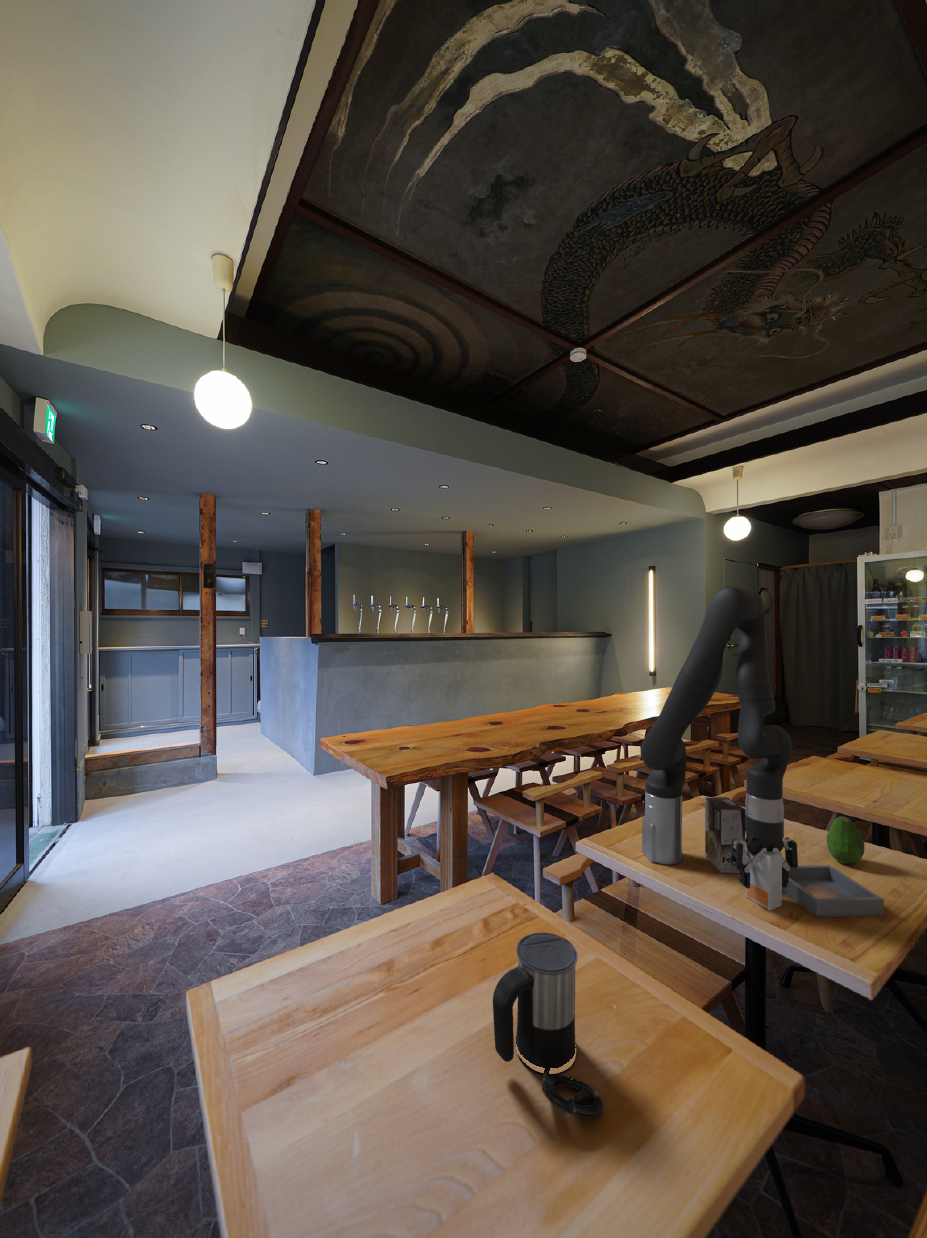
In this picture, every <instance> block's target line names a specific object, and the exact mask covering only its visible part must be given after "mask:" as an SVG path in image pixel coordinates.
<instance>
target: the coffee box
mask: <svg viewBox="0 0 927 1238" xmlns="http://www.w3.org/2000/svg"><path fill="white" fill-rule="evenodd" d="M704 804H705V805H704V831H705V833H704V836H705V837H704V839H705V841H704V844H705V845H704V846H705V847H704V852H705V854H704V856H705V858H706V859H707V860H708V861H709V863H711V864H712V865H713V866H714V867H715V868H716V869H717V871H719V872H720V873H721V874H723V873H724V874H725V873H726V874H739V870H738V869H737V868H735V867H734V866H733V865H732V864H731V846H732V840H733V839H736V840H738V841H745V839H746V831H745V807H743V806H741V805H740V804H738V803H737V802H735V801H734V800H732V798H730V797H727V796H714V797H705V798H704ZM744 850H745V851H746V848H745V849H744ZM745 851H744V852H745ZM744 852H743V854H744Z"/></svg>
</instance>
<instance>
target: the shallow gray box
mask: <svg viewBox="0 0 927 1238" xmlns="http://www.w3.org/2000/svg"><path fill="white" fill-rule="evenodd" d="M788 880H789V882H788V884H787V887H782V892H784V893H785V894H786V895H787V896H789V897H790V898H791V899H792V900H794V901H795V902H796V903H797V904H798V905H800V906H802V908H803V909H804V910H806V911H808V912H809V913H811V915H813V916H814V917H815V918H816V919H822V918H823V919H824V918H846V917H847V918H848V917H850V918H851V917H872V916H873V917H876V916H877V917H878V916H884V898H882V897H880V896H879V895H878V894H876V893H874V891H871V890H870V889H868V888H866V887H865V886H863V885H862V884H861V883H859V882H857V881H856V880H854V879H853V878H851V877H849V876H848V875H846V874H844V873H843V872H841V871H840V870H838V869H836V868H835V867H833V866H832V865H831V864H816V865H815V864H814V865H813V864H812V865H811V864H810V865H809V864H808V865H798V867H797V868H794V867H793V868H791V869H790V871H789V879H788Z"/></svg>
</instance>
